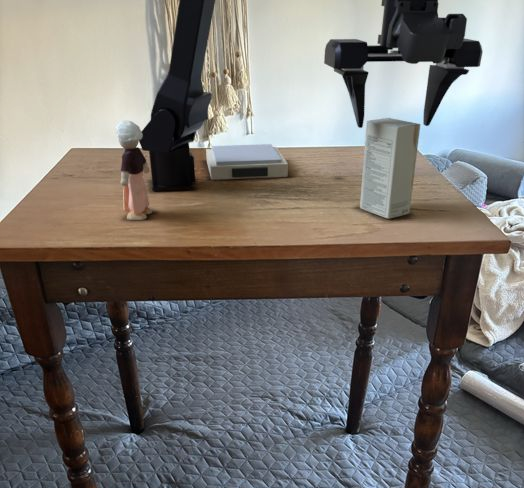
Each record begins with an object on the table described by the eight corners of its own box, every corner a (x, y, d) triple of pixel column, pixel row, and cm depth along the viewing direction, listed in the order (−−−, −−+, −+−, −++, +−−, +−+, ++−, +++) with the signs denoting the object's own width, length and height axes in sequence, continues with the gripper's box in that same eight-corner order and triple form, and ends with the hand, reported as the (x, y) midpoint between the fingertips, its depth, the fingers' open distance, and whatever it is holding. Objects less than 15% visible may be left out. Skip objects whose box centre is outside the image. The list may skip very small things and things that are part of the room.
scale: (211, 180, 93) (210, 163, 92) (206, 161, 104) (205, 145, 102) (288, 177, 95) (288, 160, 93) (275, 158, 105) (276, 143, 104)
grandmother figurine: (130, 206, 82) (119, 114, 75) (156, 207, 82) (147, 115, 75) (118, 225, 76) (103, 127, 69) (146, 226, 76) (134, 127, 69)
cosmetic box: (410, 214, 80) (423, 123, 73) (387, 220, 78) (399, 127, 71) (379, 202, 84) (389, 115, 77) (357, 207, 82) (365, 119, 75)
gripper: (353, -14, 58) (341, 142, 67) (520, -13, 61) (488, 138, 69) (327, -14, 67) (319, 123, 76) (473, -13, 70) (449, 119, 78)
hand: (393, 126), depth 75 cm, fingers open, 9 cm apart
